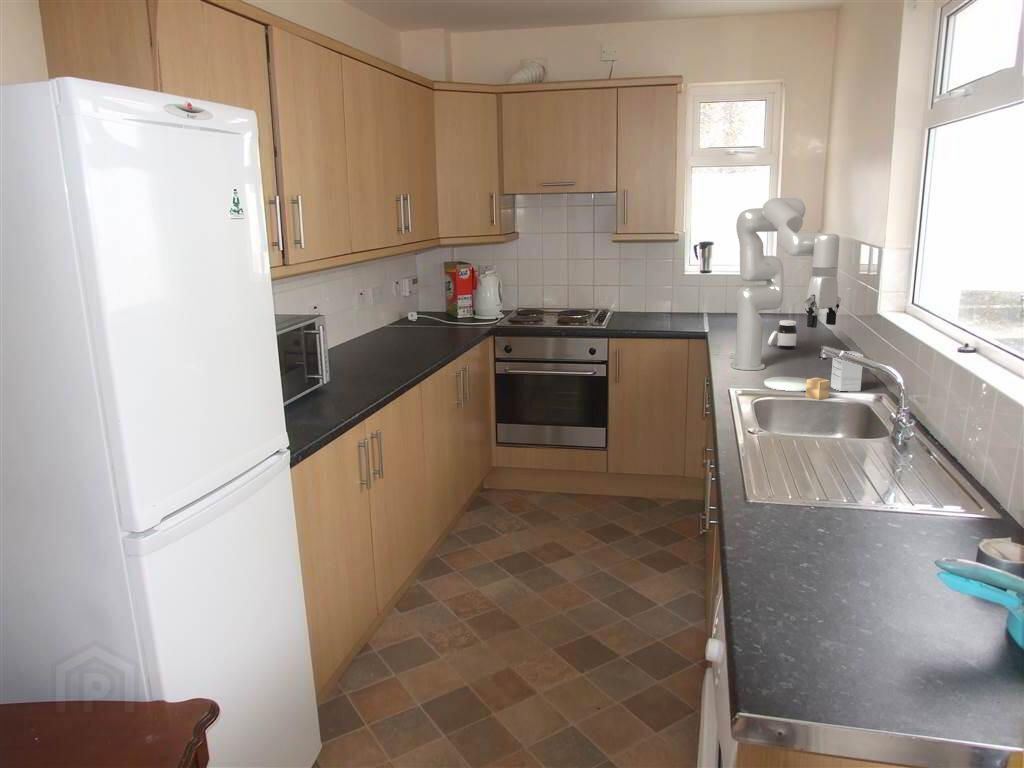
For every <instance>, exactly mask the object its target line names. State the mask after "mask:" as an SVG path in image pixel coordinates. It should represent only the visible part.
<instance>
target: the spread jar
mask: <svg viewBox="0 0 1024 768" xmlns="http://www.w3.org/2000/svg"><path fill="white" fill-rule="evenodd" d="M797 329H798V328H797V321H796V320H791V319H790V320H789V319H781V320H779V325H778V327H777V330H774V331H773V332H772V333H771V334H770V337H769V339H768V341H767V345H768V346H770V347H773V345H774V344H775V343H776V347H777V348H778V349H781V350H793V349H794V350H795V349H796V346H797V336H798V335H797V334H798V332H797V331H798V330H797Z"/></svg>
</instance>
